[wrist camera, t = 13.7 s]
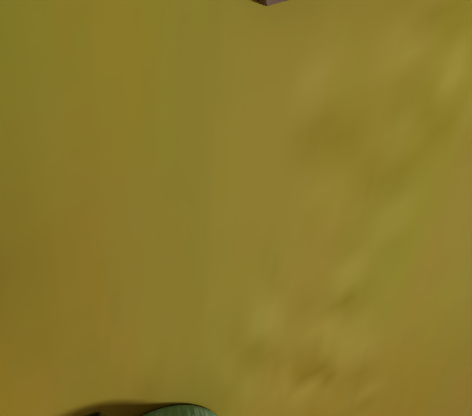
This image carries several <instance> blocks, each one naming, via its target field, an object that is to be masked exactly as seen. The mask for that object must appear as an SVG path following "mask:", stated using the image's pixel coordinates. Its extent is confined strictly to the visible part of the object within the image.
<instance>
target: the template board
mask: <svg viewBox="0 0 472 416" xmlns="http://www.w3.org/2000/svg"><path fill="white" fill-rule="evenodd" d="M283 1H287V0H259V4H262V5H265V6H269V5H272V4H276V3H280V2H283Z"/></svg>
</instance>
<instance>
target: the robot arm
mask: <svg viewBox="0 0 472 416" xmlns="http://www.w3.org/2000/svg"><path fill="white" fill-rule="evenodd" d="M85 416H105V414H104V413H103V412H102V411H99V410H98V411H95V412H92V413H90V414H87V415H85Z"/></svg>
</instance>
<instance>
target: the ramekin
mask: <svg viewBox="0 0 472 416" xmlns="http://www.w3.org/2000/svg"><path fill="white" fill-rule="evenodd" d="M143 416H217V415H216V414H214V413H213V412H212V411H210V410H208V409H206V408H203V407H199V406H194V405H175V406H169V407H164V408H160V409H157V410H154V411H152V412H149V413H147V414H145V415H143Z"/></svg>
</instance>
